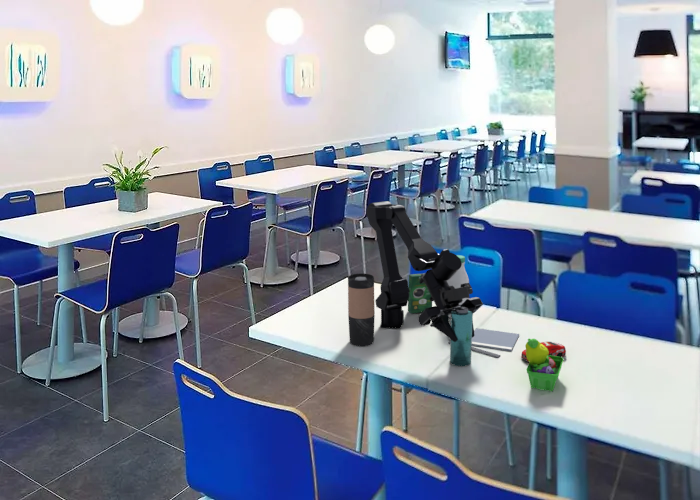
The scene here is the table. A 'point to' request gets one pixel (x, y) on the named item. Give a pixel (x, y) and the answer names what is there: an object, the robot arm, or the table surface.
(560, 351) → the race car
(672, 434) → the table surface
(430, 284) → the robot arm
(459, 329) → the bottle
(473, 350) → the line
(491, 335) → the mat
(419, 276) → the coffee box
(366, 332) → the travel mug
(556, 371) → the fruit basket
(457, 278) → the milk bottle
